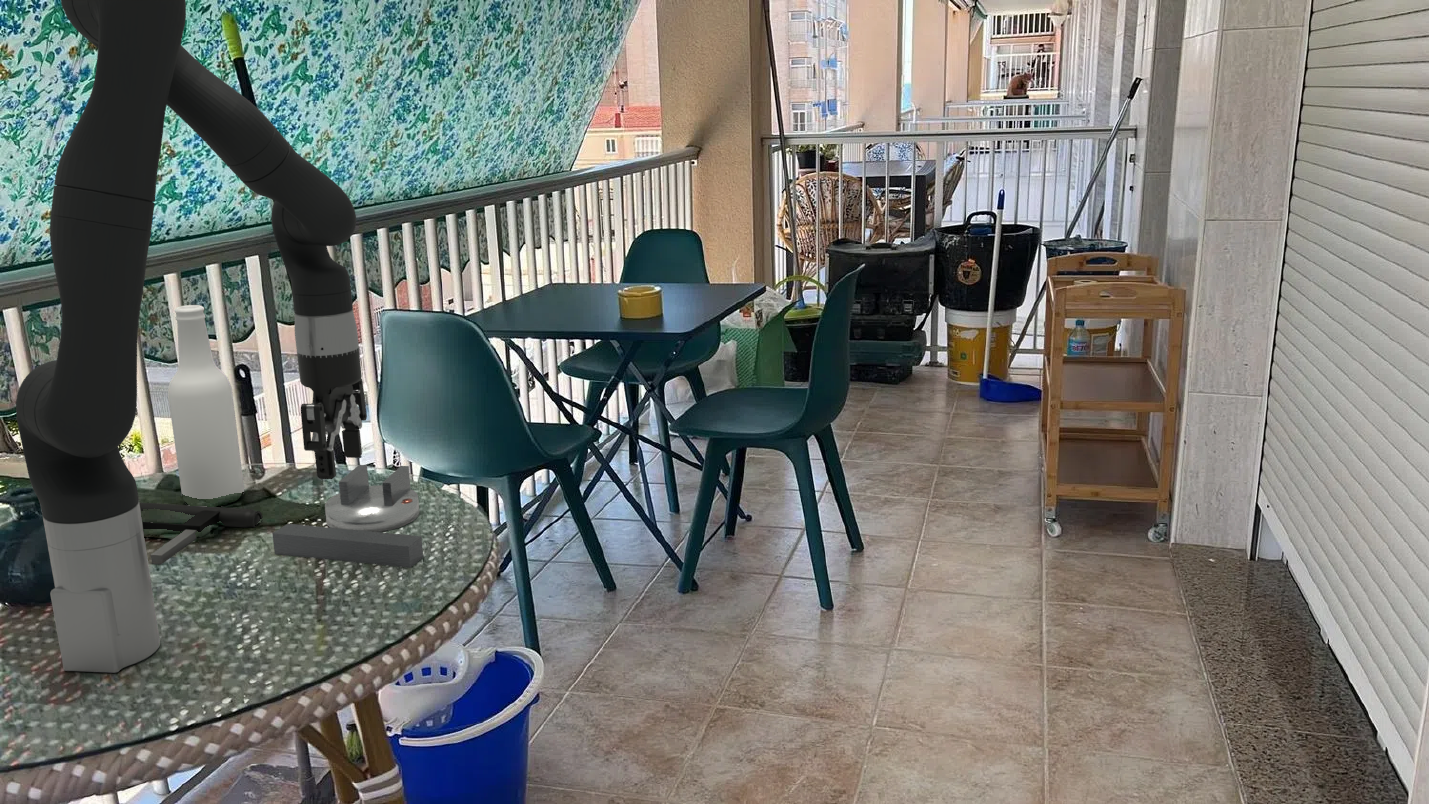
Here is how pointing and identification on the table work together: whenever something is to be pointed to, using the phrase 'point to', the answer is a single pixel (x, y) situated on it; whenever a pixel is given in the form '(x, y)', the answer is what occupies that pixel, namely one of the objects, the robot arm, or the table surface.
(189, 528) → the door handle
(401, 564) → the bar
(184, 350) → the alcohol
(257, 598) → the table surface
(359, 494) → the slotted disc stand
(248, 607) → the table surface
